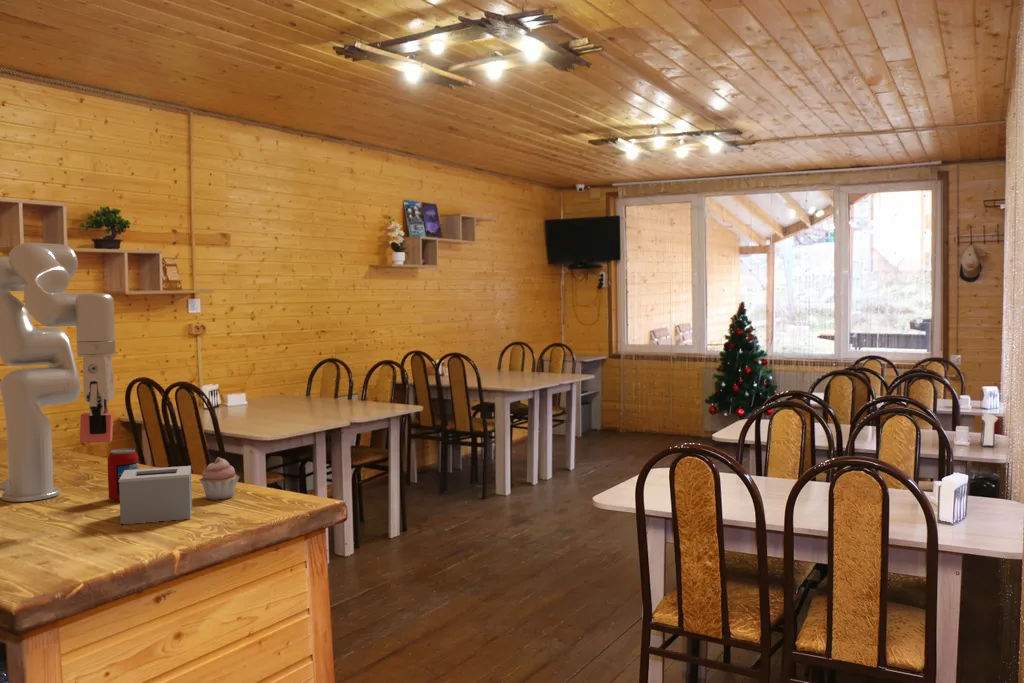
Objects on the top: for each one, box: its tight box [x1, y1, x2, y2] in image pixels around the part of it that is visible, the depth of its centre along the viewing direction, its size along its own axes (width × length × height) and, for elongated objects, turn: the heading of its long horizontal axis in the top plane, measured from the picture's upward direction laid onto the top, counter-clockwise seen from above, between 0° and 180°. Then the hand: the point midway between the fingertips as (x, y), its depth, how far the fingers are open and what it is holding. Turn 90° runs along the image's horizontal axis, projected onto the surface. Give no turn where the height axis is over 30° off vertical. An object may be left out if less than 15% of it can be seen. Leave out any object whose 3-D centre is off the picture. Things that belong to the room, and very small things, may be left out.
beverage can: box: [107, 447, 140, 502], centre depth 198 cm, size 7×7×12 cm
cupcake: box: [198, 456, 240, 501], centre depth 200 cm, size 9×9×10 cm
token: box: [79, 412, 114, 443], centre depth 180 cm, size 6×3×6 cm, turn 108°
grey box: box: [119, 465, 193, 525], centre depth 183 cm, size 14×10×10 cm
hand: (99, 431), depth 180 cm, fingers closed on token, 2 cm apart
